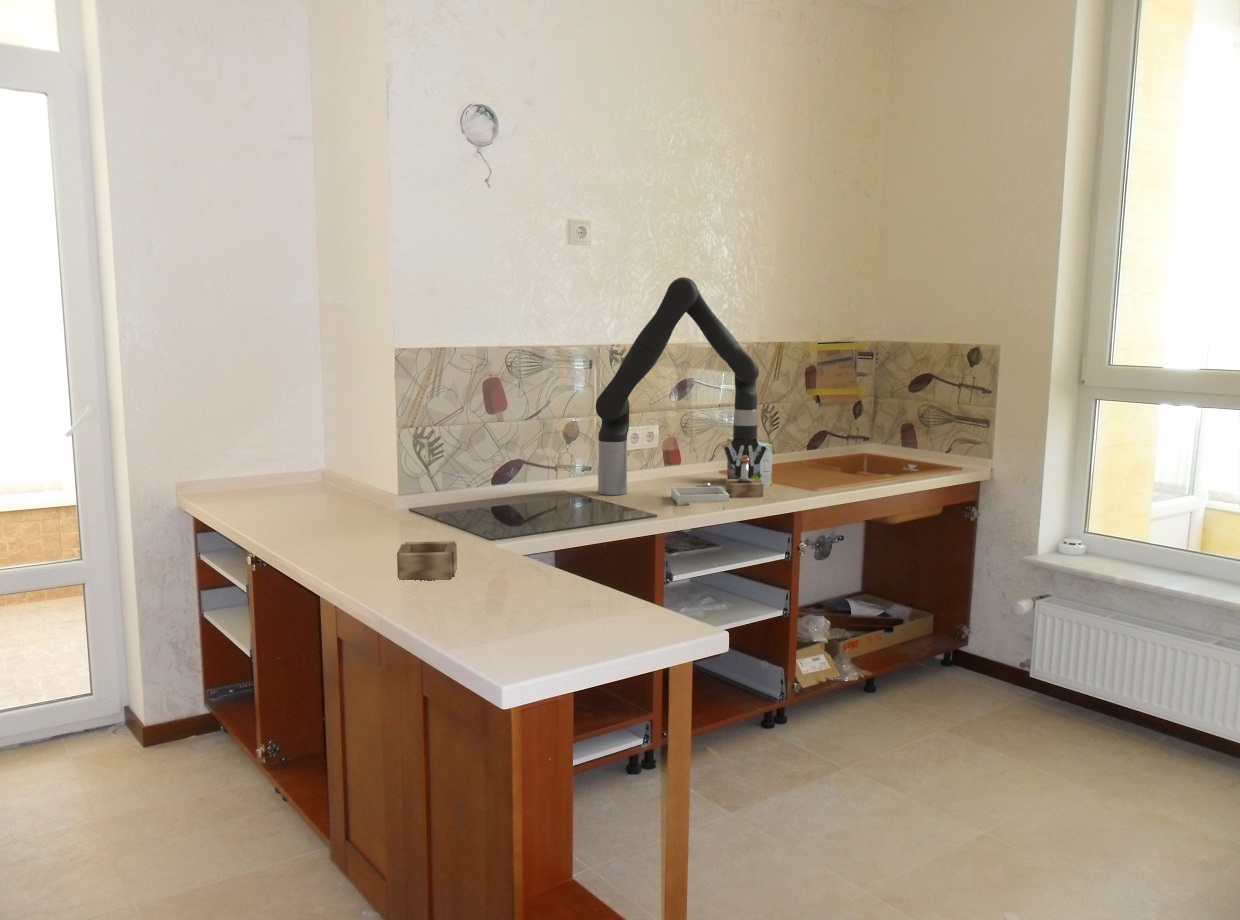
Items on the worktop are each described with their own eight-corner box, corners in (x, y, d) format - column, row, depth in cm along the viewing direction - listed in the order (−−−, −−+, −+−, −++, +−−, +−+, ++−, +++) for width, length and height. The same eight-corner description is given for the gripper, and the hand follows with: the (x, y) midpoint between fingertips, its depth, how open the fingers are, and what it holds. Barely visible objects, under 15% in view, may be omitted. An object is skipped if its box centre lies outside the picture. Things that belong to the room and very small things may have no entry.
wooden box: (731, 500, 300) (731, 484, 299) (725, 494, 310) (725, 479, 309) (763, 500, 301) (763, 484, 300) (755, 494, 311) (756, 478, 310)
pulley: (697, 496, 307) (697, 485, 306) (693, 492, 314) (694, 481, 313) (719, 496, 307) (719, 485, 307) (715, 492, 314) (715, 481, 314)
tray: (677, 505, 293) (677, 495, 292) (670, 496, 306) (671, 487, 306) (729, 504, 294) (729, 494, 294) (720, 495, 308) (720, 486, 307)
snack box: (725, 479, 338) (726, 437, 336) (739, 478, 341) (740, 436, 338) (758, 489, 319) (759, 444, 317) (772, 488, 322) (774, 443, 319)
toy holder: (396, 587, 204) (395, 555, 203) (404, 572, 216) (403, 542, 215) (453, 586, 205) (452, 554, 204) (457, 571, 217) (457, 541, 216)
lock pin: (738, 492, 303) (739, 458, 302) (735, 490, 307) (736, 456, 305) (750, 492, 304) (752, 458, 302) (748, 490, 308) (749, 456, 306)
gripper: (725, 424, 298) (724, 479, 300) (770, 424, 299) (768, 479, 302) (720, 422, 305) (719, 475, 308) (764, 422, 306) (762, 475, 309)
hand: (743, 477), depth 305 cm, fingers closed on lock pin, 3 cm apart
